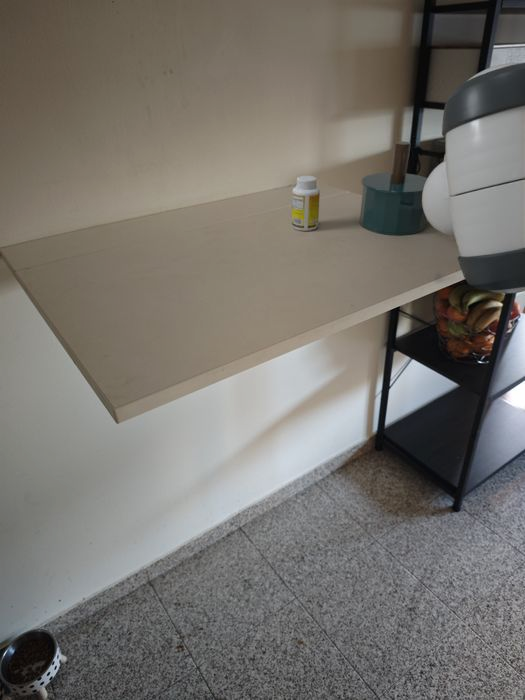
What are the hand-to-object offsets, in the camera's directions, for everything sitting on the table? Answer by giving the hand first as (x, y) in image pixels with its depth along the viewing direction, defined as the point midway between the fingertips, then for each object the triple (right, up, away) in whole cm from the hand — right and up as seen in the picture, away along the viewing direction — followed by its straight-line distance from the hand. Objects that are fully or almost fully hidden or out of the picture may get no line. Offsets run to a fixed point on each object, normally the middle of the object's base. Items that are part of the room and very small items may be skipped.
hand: (451, 151), depth 95 cm
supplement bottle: (-27, -12, +12) cm, 32 cm away
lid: (-8, -3, +8) cm, 12 cm away
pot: (-8, -10, +13) cm, 18 cm away
